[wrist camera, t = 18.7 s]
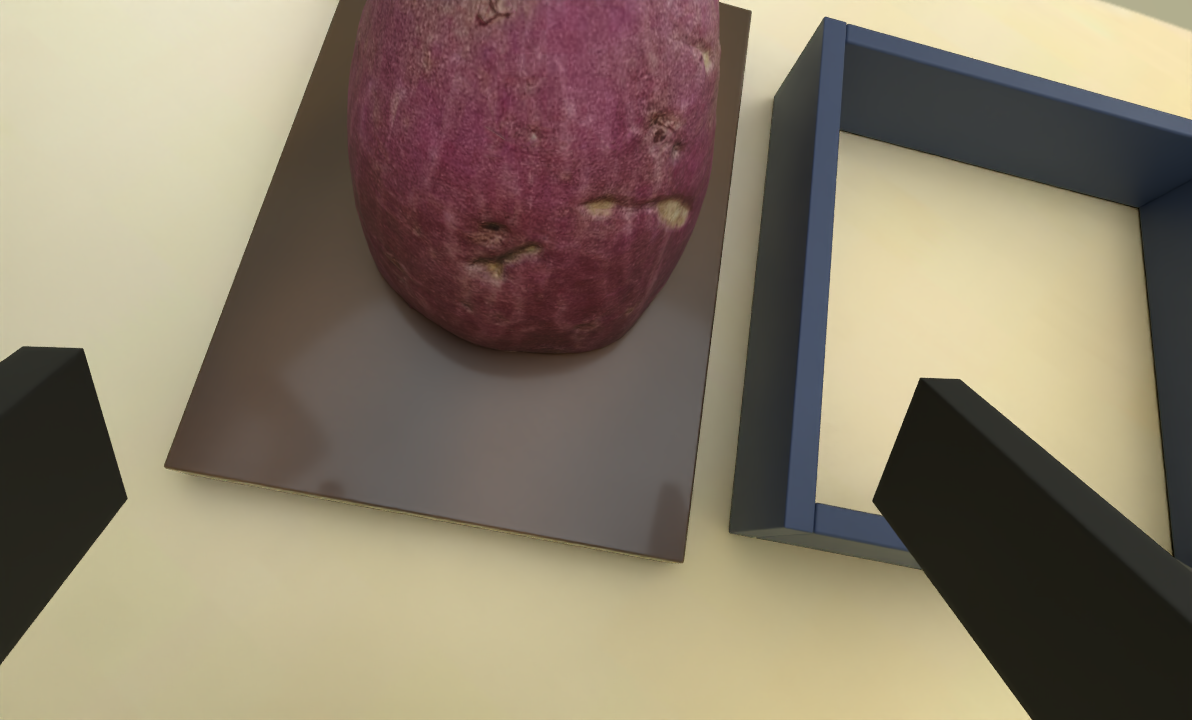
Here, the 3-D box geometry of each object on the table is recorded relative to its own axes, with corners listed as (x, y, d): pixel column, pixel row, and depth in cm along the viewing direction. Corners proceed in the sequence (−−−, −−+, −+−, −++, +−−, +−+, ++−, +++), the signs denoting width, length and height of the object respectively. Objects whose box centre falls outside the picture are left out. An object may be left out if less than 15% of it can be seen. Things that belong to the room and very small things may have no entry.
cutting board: (187, 474, 18) (161, 467, 17) (380, -58, 24) (374, -95, 23) (669, 563, 20) (684, 564, 18) (737, 40, 26) (752, 10, 24)
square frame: (728, 532, 20) (784, 527, 16) (773, 96, 25) (824, 15, 21) (1200, 623, 22) (1349, 637, 18) (1153, 196, 27) (1262, 138, 23)
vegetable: (355, 180, 23) (-32, -507, 10) (619, 83, 25) (592, -636, 11) (444, 431, 19) (-52, -212, 5) (762, 296, 20) (1003, -489, 7)
